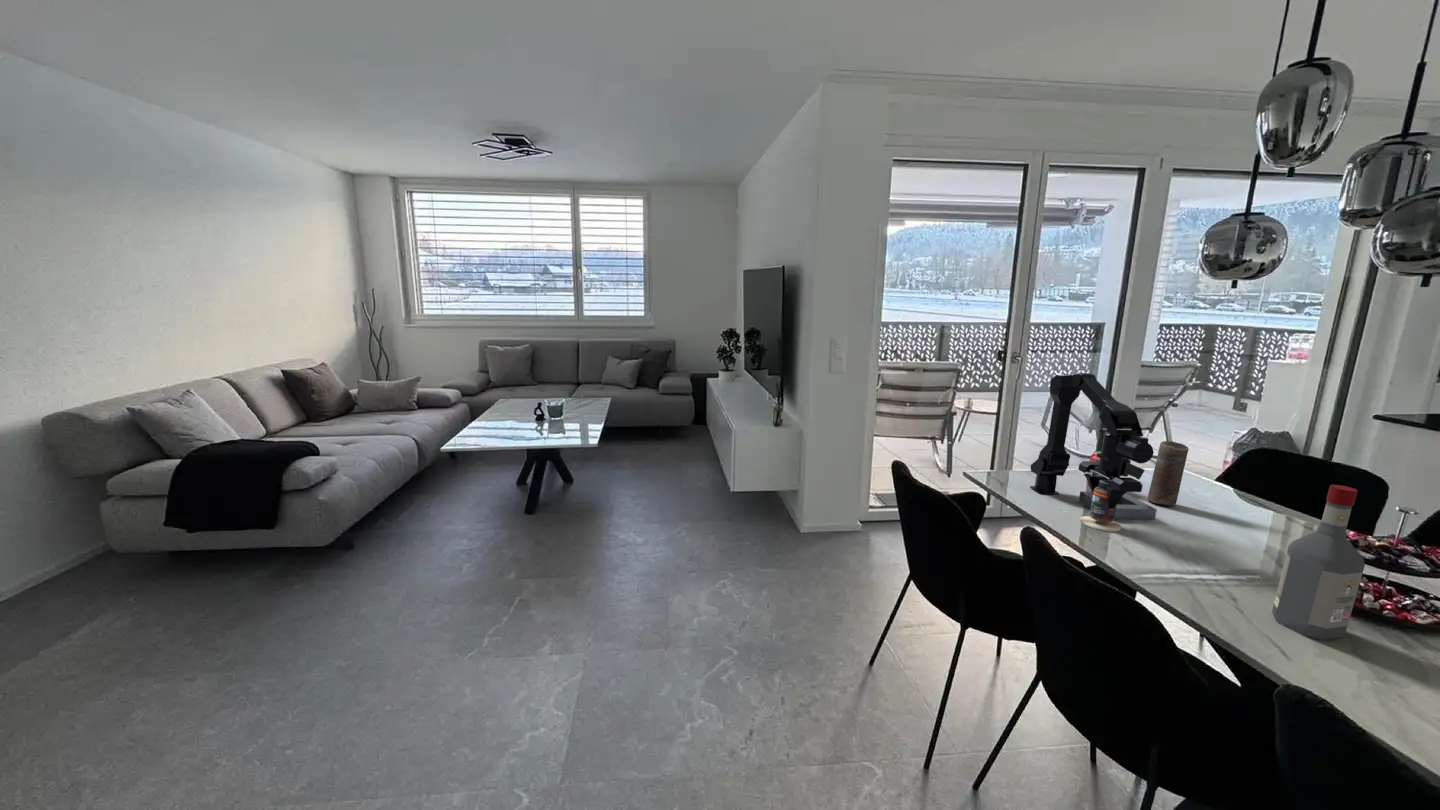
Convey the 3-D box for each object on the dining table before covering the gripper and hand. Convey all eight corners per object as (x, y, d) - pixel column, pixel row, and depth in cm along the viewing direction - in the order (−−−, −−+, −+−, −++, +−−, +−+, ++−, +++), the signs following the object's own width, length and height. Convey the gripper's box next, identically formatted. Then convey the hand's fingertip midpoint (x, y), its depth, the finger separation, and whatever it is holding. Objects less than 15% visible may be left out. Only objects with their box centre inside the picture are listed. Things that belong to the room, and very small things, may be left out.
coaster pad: (1072, 517, 170) (1073, 515, 170) (1105, 518, 170) (1106, 516, 170) (1094, 531, 160) (1094, 529, 160) (1129, 532, 161) (1130, 530, 160)
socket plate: (1078, 501, 183) (1080, 491, 182) (1121, 502, 183) (1123, 492, 183) (1108, 519, 169) (1110, 508, 169) (1154, 520, 170) (1156, 509, 169)
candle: (1175, 503, 185) (1187, 443, 180) (1178, 510, 179) (1190, 448, 174) (1146, 497, 189) (1157, 439, 184) (1147, 504, 183) (1159, 444, 178)
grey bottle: (1350, 638, 113) (1392, 495, 107) (1316, 642, 111) (1356, 497, 105) (1296, 612, 122) (1332, 478, 116) (1263, 616, 120) (1297, 480, 114)
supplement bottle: (1115, 519, 165) (1122, 482, 163) (1111, 525, 161) (1118, 487, 159) (1091, 513, 169) (1098, 476, 167) (1087, 518, 165) (1093, 481, 163)
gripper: (1167, 463, 152) (1156, 518, 155) (1118, 443, 170) (1109, 493, 173) (1125, 462, 152) (1115, 517, 155) (1081, 442, 170) (1073, 492, 173)
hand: (1103, 504), depth 164 cm, fingers closed on supplement bottle, 6 cm apart
